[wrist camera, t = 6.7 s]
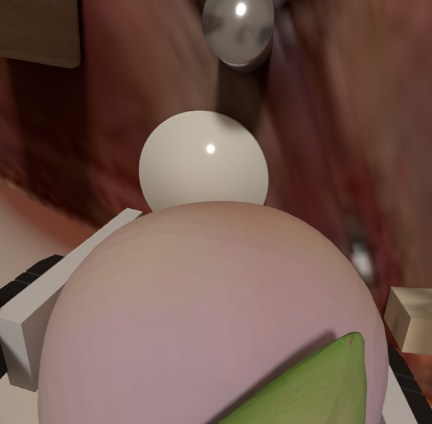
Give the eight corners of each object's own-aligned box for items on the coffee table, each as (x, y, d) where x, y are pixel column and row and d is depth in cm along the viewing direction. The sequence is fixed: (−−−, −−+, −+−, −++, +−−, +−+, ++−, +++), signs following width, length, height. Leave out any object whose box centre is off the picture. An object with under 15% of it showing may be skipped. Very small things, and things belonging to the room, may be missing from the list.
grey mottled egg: (279, 14, 22) (283, -21, 16) (265, 76, 25) (263, 67, 18) (225, 6, 23) (208, -31, 17) (216, 68, 25) (197, 56, 19)
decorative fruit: (166, 128, 10) (-546, 323, 1) (357, 197, 10) (1188, 1035, 1) (129, 292, 14) (-99, 621, 5) (265, 344, 14) (272, 776, 5)
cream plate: (284, 125, 26) (285, 126, 24) (251, 246, 32) (250, 252, 31) (148, 98, 28) (141, 98, 26) (142, 219, 34) (136, 223, 32)
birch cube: (438, 289, 30) (468, 322, 25) (427, 321, 32) (454, 357, 27) (390, 286, 31) (411, 317, 26) (383, 317, 33) (401, 351, 28)
